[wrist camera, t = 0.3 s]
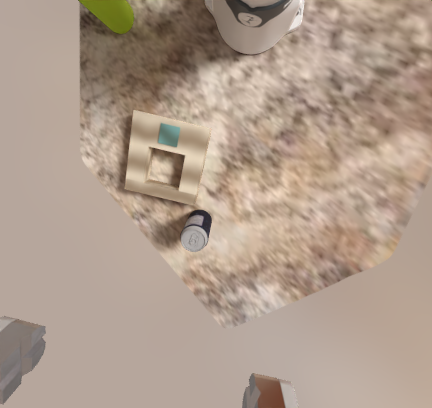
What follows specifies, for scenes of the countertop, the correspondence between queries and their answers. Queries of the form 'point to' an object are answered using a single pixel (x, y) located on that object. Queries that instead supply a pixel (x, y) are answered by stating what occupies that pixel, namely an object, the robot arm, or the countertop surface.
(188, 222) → the beverage can
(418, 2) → the countertop surface
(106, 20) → the soap dispenser
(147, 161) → the socket board
